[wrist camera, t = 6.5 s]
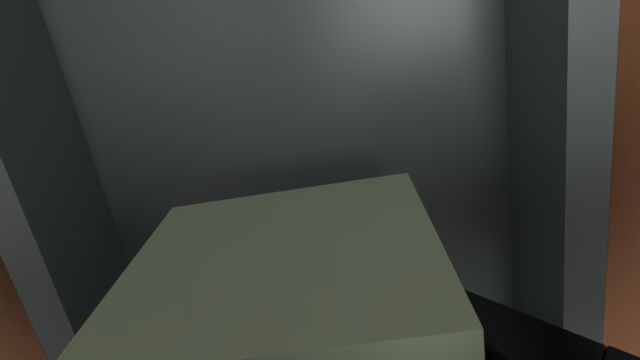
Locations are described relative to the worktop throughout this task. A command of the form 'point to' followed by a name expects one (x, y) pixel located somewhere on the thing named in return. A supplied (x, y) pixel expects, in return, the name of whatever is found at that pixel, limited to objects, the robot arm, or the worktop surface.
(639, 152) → the worktop surface
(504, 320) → the robot arm
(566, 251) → the tote
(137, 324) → the green cube
